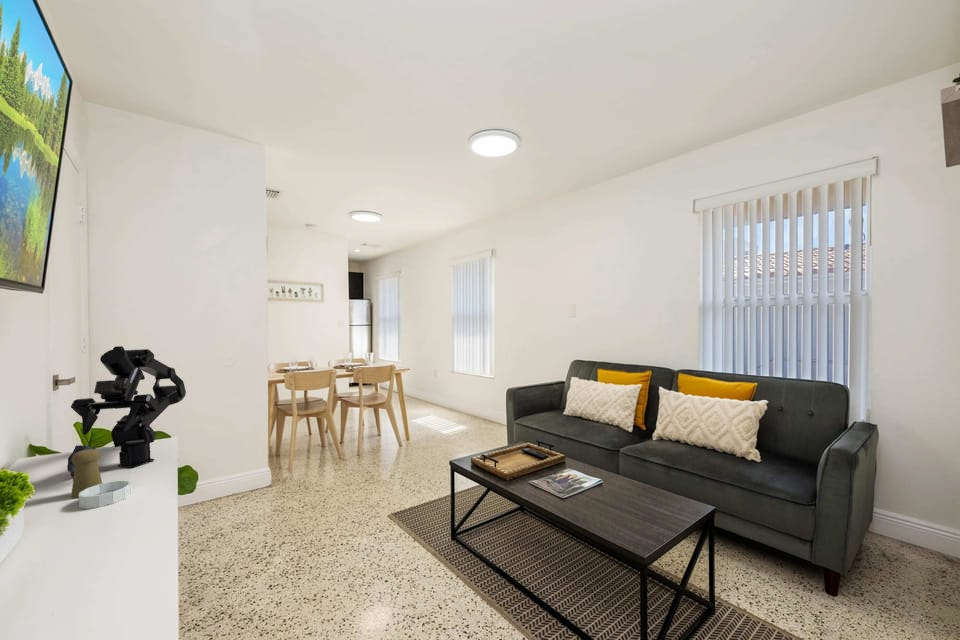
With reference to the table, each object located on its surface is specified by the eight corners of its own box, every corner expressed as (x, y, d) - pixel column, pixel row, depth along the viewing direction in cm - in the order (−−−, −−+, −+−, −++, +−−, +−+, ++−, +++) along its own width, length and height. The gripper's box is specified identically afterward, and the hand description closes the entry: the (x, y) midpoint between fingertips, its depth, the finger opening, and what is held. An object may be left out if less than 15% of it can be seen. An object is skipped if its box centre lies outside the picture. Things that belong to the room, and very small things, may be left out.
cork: (66, 500, 102) (64, 456, 102) (76, 491, 107) (74, 449, 107) (98, 494, 105) (96, 451, 104) (107, 486, 110) (105, 445, 110)
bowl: (114, 489, 108) (114, 478, 108) (140, 493, 105) (139, 482, 105) (69, 506, 99) (69, 494, 99) (96, 510, 96) (95, 498, 96)
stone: (68, 472, 121) (67, 438, 121) (96, 466, 126) (95, 433, 125) (67, 485, 111) (66, 448, 111) (98, 478, 116) (96, 443, 116)
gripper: (72, 370, 115) (44, 421, 105) (150, 366, 119) (130, 414, 109) (93, 392, 123) (69, 441, 113) (165, 387, 127) (148, 434, 117)
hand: (104, 432), depth 113 cm, fingers open, 9 cm apart
